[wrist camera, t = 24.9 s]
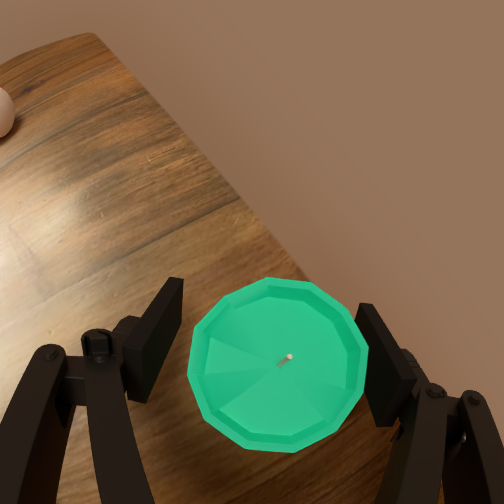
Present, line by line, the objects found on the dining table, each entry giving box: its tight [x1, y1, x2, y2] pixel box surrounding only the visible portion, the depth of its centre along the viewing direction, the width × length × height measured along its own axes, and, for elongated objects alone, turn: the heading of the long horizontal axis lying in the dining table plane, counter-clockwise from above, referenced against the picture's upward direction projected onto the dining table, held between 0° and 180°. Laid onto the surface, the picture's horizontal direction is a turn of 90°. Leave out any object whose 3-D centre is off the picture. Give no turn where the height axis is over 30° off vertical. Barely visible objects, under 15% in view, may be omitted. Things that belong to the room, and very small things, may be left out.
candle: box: [187, 277, 369, 453], centre depth 14 cm, size 6×6×12 cm
